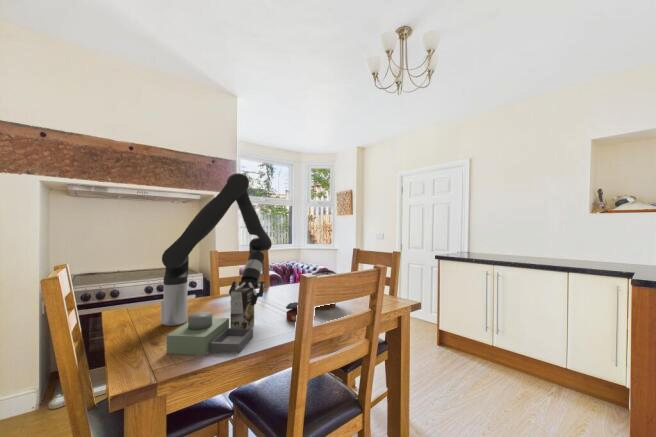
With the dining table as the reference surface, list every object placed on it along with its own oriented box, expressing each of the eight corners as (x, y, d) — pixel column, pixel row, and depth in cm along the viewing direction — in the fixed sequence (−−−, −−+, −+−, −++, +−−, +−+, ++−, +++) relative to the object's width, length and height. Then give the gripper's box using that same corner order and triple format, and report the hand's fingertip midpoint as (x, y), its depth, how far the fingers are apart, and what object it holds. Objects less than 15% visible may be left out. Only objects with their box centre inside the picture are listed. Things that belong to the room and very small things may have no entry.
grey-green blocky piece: (166, 353, 95) (166, 323, 95) (196, 332, 113) (196, 307, 113) (235, 356, 93) (236, 325, 93) (254, 334, 111) (254, 308, 111)
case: (313, 314, 134) (314, 276, 134) (300, 303, 152) (300, 270, 153) (347, 310, 141) (347, 274, 141) (330, 300, 159) (331, 268, 160)
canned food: (286, 330, 127) (277, 309, 129) (300, 321, 136) (291, 301, 138) (302, 323, 121) (293, 301, 123) (316, 314, 130) (307, 294, 132)
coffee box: (244, 333, 112) (244, 292, 112) (229, 331, 114) (229, 291, 114) (255, 324, 121) (255, 286, 121) (241, 323, 123) (241, 286, 123)
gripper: (234, 266, 127) (223, 299, 115) (265, 267, 125) (257, 300, 114) (239, 276, 132) (228, 308, 120) (269, 276, 131) (261, 309, 119)
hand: (242, 304), depth 117 cm, fingers open, 8 cm apart
